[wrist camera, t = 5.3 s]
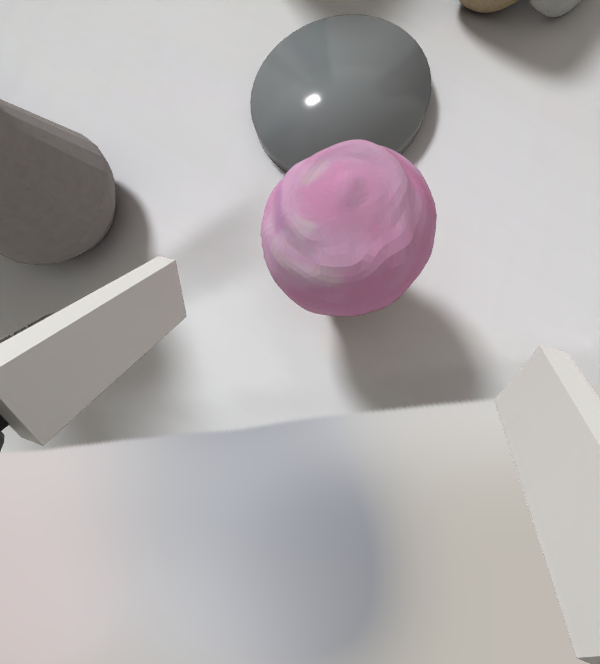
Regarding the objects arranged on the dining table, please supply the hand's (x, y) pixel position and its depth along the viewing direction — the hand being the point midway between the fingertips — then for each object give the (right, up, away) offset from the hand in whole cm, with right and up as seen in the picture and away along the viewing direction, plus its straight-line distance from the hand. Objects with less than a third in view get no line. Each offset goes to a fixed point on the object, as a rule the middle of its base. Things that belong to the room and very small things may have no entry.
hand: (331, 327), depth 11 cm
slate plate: (+2, +19, +12) cm, 22 cm away
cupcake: (+2, +4, +11) cm, 12 cm away
